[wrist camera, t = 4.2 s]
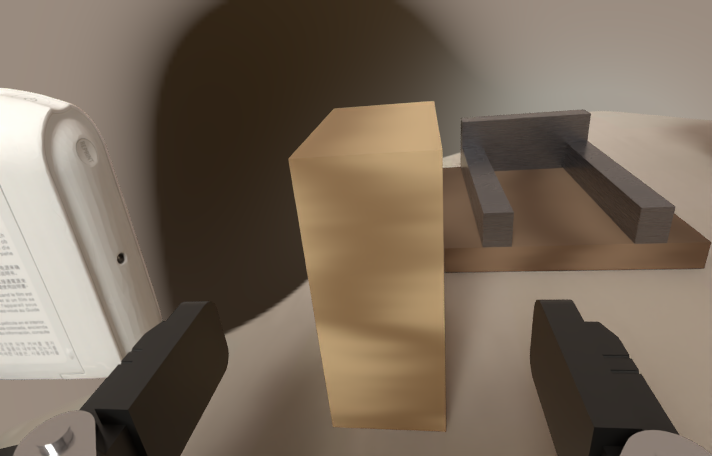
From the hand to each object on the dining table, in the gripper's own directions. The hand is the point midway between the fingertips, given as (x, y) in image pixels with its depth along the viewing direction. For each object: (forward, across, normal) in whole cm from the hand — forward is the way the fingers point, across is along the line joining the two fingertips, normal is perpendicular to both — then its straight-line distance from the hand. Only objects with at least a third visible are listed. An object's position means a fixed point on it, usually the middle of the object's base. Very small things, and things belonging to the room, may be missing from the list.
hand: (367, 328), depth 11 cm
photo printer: (+6, +16, +6) cm, 18 cm away
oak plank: (+6, 0, +6) cm, 8 cm away
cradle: (+20, -9, +6) cm, 22 cm away
